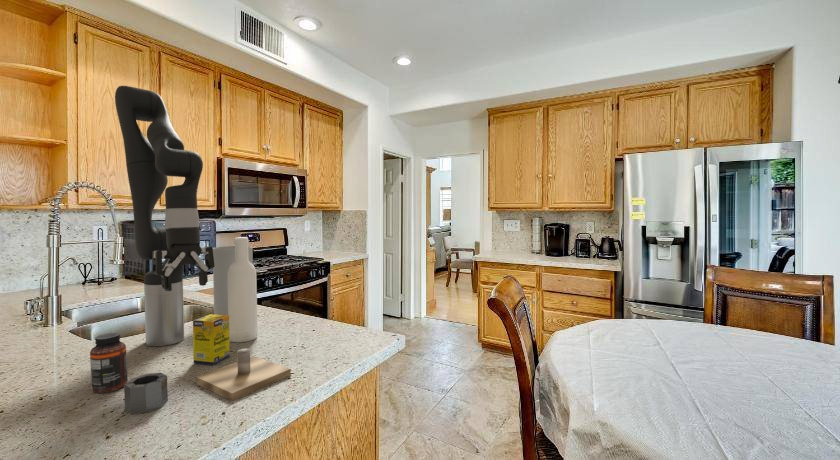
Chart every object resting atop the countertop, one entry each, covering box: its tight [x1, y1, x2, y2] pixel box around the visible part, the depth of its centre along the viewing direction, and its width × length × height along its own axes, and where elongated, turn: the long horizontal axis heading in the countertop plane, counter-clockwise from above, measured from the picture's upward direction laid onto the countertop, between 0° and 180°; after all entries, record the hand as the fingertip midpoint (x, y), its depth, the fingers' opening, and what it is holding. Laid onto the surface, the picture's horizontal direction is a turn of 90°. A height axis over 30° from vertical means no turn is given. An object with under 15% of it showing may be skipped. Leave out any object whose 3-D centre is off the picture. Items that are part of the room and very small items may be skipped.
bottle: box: [227, 236, 259, 343], centre depth 111 cm, size 8×8×30 cm
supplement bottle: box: [89, 332, 129, 394], centre depth 80 cm, size 6×6×11 cm
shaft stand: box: [195, 348, 292, 401], centre depth 84 cm, size 14×14×6 cm
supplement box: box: [192, 313, 231, 366], centre depth 95 cm, size 6×6×11 cm
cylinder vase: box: [212, 245, 254, 315], centre depth 133 cm, size 12×12×25 cm
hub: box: [123, 372, 169, 415], centre depth 73 cm, size 6×6×5 cm
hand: (185, 288), depth 99 cm, fingers open, 8 cm apart
